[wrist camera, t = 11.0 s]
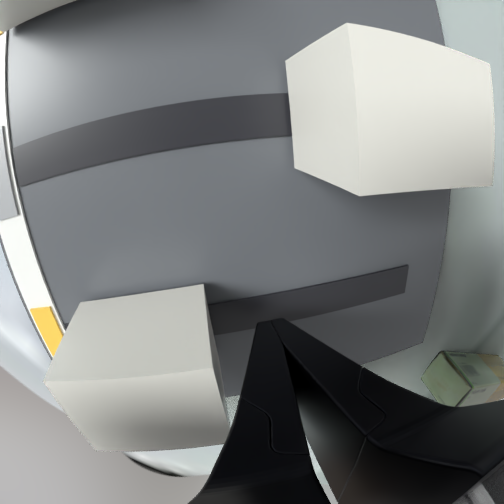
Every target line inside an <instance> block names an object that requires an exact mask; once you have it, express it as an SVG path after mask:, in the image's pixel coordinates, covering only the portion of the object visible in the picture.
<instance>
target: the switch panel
mask: <svg viewBox="0 0 504 504" xmlns="http://www.w3.org/2000/svg"><path fill="white" fill-rule="evenodd" d="M345 23H352V24H358V25H364V26H369V27H375V28H380V29H384V30H389V31H393V32H397V33H401V34H405V35H409V36H413V37H416V38H420V39H423V40H427V41H430V42H433V43H436V44H439V45H442V46H445V44H444V38H443V33H442V28H441V23H440V18H439V13H438V9H437V5H436V1H435V0H76V1H73V2H70V3H67V4H65V5H62V6H60V7H57V8H54V9H52V10H50V11H47V12H45V13H43V14H40V15H38V16H36V17H34V18H32V19H29V20H27V21H25V22H23V23H21V24H19V25H17V26H15V27H13V28H11V29H10V30H8V31H6V32H2V31H0V243H1V246H2V249H3V252H4V255H5V258H6V261H7V264H8V267H9V270H10V272H11V275H12V278H13V280H14V283H15V285H16V288H17V290H18V293H19V295H20V298H21V300H22V302H23V305H24V307H25V309H26V311H27V313H28V316H29V318H30V320H31V322H32V324H33V326H34V328H35V330H36V332H37V334H38V336H39V338H40V340H41V342H42V344H43V346H44V348H45V349H46V351H47V353H48V355H49V357H50V359H51V360H52V359H53V357H54V355H55V352H56V350H57V348H58V346H59V344H60V342H61V340H62V337H63V335H64V333H65V331H66V329H67V327H68V325H69V323H70V321H71V319H72V317H73V315H74V313H75V311H76V310H77V308H78V306H79V304H80V302H86V301H93V300H100V299H107V298H115V297H121V296H128V295H135V294H142V293H149V292H155V291H162V290H168V289H175V288H181V287H188V286H194V285H200V284H204V289H205V294H206V300H207V305H208V310H209V315H210V319H211V324H212V329H213V334H214V338H215V343H216V348H217V352H218V357H219V362H220V369H221V375H222V381H223V387H224V393H225V397H230V396H236V395H240V394H241V390H242V385H243V381H244V377H245V373H246V368H247V364H248V360H249V355H250V351H251V347H252V342H253V338H254V334H255V329H256V325H257V323H258V322H262V321H267V320H269V321H270V320H272V319H277V318H285V319H286V320H288V321H289V322H291V323H292V324H294V325H296V326H297V327H299V328H300V329H302V330H304V331H305V332H307V333H308V334H310V335H312V336H313V337H315V338H316V339H318V340H320V341H321V342H323V343H325V344H326V345H328V346H329V347H331V348H333V349H334V350H336V351H338V352H339V353H341V354H343V355H344V356H346V357H347V358H349V359H351V360H352V361H354V362H356V363H357V364H359V365H361V364H364V363H367V362H370V361H373V360H376V359H379V358H382V357H385V356H388V355H391V354H393V353H396V352H399V351H401V350H404V349H407V348H409V347H412V346H414V345H417V344H419V343H422V342H423V340H424V336H425V333H426V329H427V326H428V322H429V318H430V314H431V310H432V306H433V302H434V298H435V293H436V289H437V284H438V279H439V274H440V269H441V263H442V258H443V251H444V245H445V238H446V231H447V223H448V214H449V204H450V192H451V189H437V190H424V191H411V192H399V193H388V194H378V195H367V196H358V195H355V194H353V193H351V192H349V191H347V190H344V189H342V188H340V187H338V186H336V185H333V184H331V183H329V182H326V181H324V180H322V179H319V178H317V177H315V176H312V175H310V174H308V173H305V172H303V171H300V170H298V169H295V168H294V154H293V140H292V127H291V115H290V104H289V93H288V83H287V73H286V64H285V61H286V60H287V59H289V58H290V57H292V56H293V55H295V54H296V53H298V52H299V51H301V50H302V49H304V48H306V47H307V46H309V45H310V44H312V43H313V42H315V41H317V40H318V39H320V38H321V37H323V36H325V35H326V34H328V33H330V32H331V31H333V30H335V29H337V28H338V27H340V26H342V25H344V24H345Z"/></svg>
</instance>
